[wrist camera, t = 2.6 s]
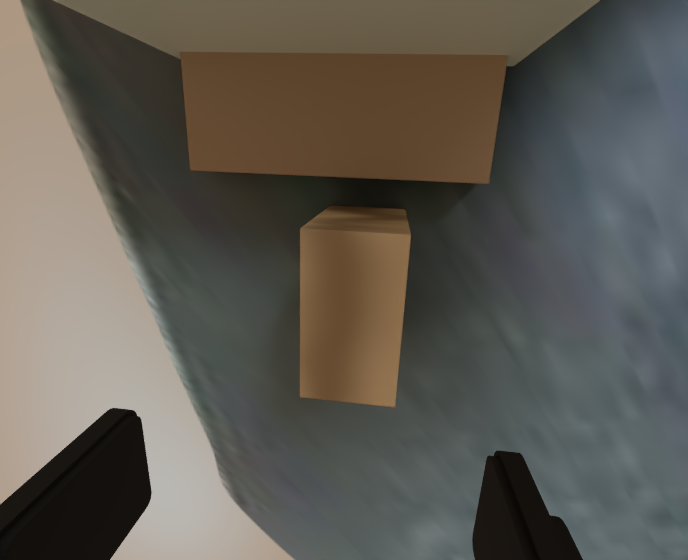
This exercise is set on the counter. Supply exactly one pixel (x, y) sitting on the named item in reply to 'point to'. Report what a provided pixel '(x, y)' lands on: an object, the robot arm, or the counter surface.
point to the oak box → (352, 303)
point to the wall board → (342, 79)
